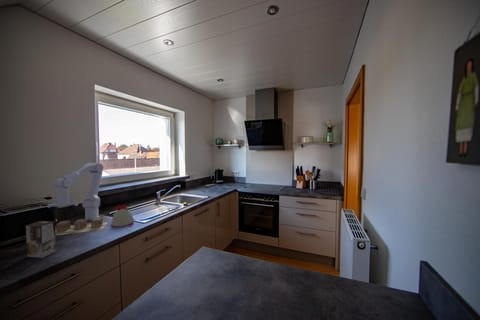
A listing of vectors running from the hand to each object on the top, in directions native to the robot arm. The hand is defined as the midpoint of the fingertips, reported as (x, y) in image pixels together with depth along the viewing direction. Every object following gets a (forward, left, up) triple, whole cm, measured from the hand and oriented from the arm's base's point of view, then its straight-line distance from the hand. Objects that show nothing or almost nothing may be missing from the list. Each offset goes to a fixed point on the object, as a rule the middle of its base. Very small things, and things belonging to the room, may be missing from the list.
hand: (63, 217), depth 118 cm
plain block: (0, 0, -8) cm, 8 cm away
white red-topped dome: (-1, +33, -10) cm, 34 cm away
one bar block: (0, +9, -8) cm, 12 cm away
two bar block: (0, +18, -8) cm, 20 cm away
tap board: (0, +9, -9) cm, 13 cm away
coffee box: (+29, +3, -10) cm, 31 cm away
